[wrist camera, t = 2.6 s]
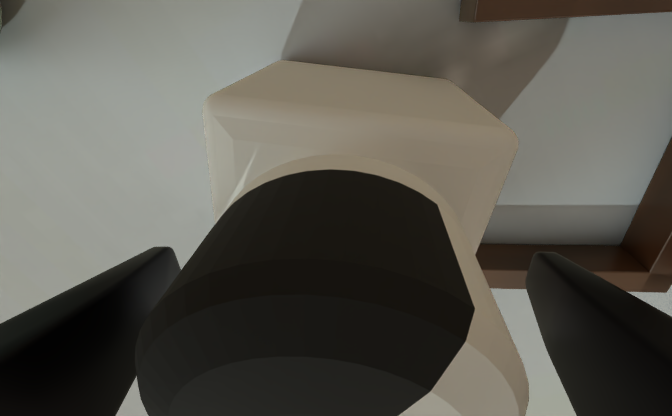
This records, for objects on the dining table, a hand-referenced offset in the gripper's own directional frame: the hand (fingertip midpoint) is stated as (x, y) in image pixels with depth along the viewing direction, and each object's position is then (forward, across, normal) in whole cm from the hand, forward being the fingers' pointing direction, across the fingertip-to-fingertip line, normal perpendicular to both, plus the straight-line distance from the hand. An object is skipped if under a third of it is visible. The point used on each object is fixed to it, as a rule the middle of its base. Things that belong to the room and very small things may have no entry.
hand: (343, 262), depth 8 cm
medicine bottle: (+8, 0, 0) cm, 8 cm away
